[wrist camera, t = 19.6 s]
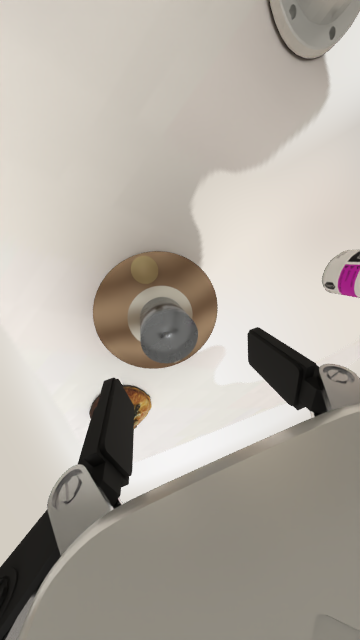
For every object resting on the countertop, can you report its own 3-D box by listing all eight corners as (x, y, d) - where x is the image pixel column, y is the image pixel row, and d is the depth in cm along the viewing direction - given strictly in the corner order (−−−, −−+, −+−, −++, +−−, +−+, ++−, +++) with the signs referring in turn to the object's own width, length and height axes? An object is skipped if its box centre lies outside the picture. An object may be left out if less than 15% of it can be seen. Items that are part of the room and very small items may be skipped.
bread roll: (89, 385, 26) (85, 412, 22) (152, 377, 31) (158, 398, 27) (90, 427, 30) (86, 456, 26) (145, 414, 35) (150, 437, 31)
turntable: (69, 275, 18) (33, 283, 12) (199, 236, 20) (227, 225, 14) (128, 375, 25) (124, 413, 19) (218, 339, 27) (243, 363, 21)
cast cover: (152, 288, 19) (158, 300, 14) (190, 308, 21) (208, 326, 16) (131, 328, 20) (129, 353, 15) (169, 343, 23) (180, 369, 17)
